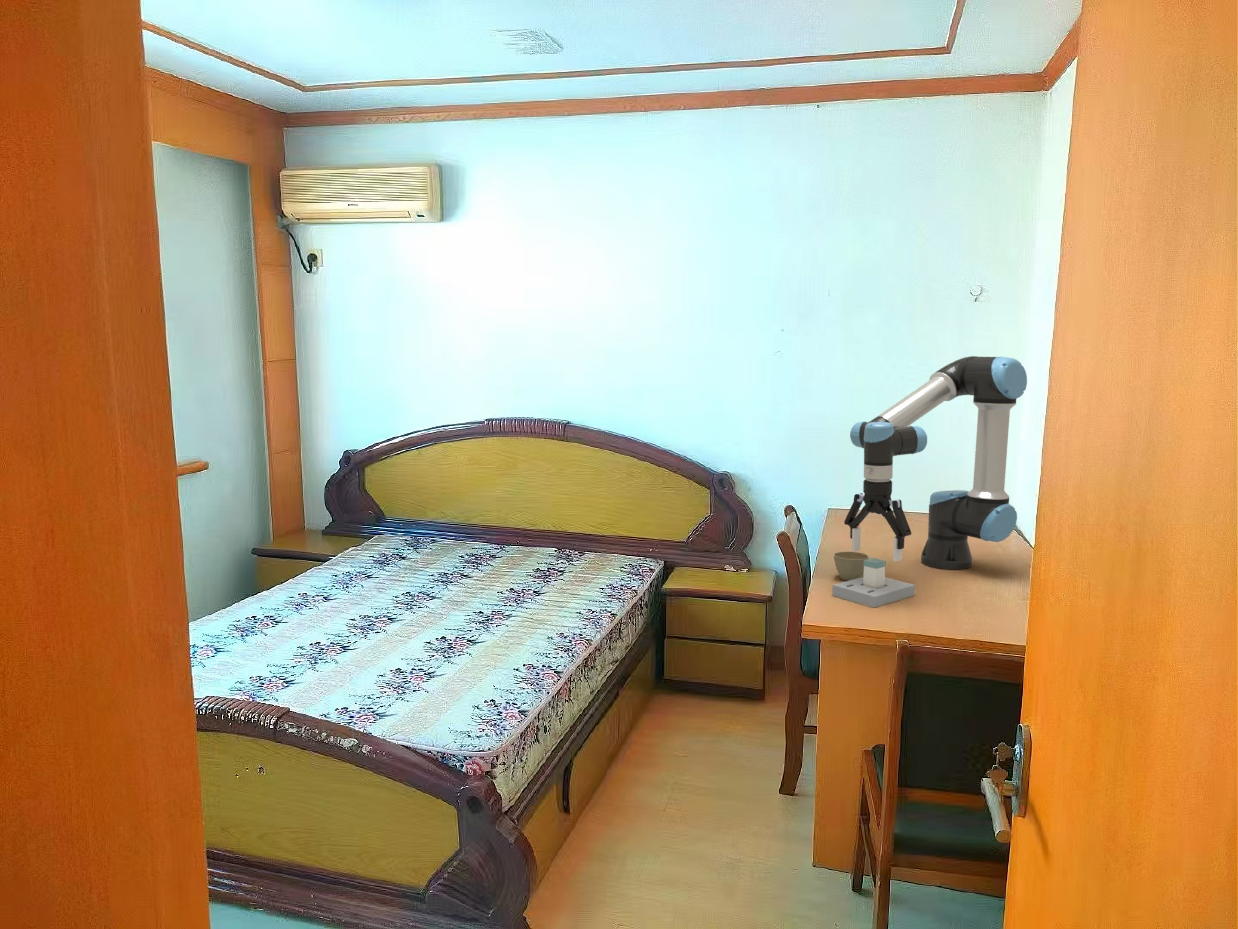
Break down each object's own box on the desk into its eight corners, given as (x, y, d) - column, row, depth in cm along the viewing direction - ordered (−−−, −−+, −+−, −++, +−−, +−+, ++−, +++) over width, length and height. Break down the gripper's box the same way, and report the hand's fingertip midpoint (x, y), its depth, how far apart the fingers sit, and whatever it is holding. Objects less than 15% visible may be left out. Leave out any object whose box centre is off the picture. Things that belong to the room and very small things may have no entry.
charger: (871, 592, 249) (873, 557, 248) (884, 595, 246) (885, 560, 244) (862, 595, 247) (863, 560, 245) (874, 598, 243) (876, 563, 242)
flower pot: (866, 584, 257) (867, 560, 255) (831, 581, 260) (831, 557, 259) (869, 576, 266) (870, 552, 265) (835, 573, 269) (835, 549, 268)
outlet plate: (872, 584, 257) (873, 573, 257) (914, 595, 246) (915, 584, 246) (832, 595, 246) (832, 584, 246) (874, 607, 235) (874, 596, 235)
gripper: (832, 475, 249) (831, 549, 252) (909, 487, 229) (907, 567, 233) (849, 472, 253) (848, 544, 257) (926, 483, 234) (924, 561, 237)
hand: (876, 555), depth 245 cm, fingers open, 13 cm apart
